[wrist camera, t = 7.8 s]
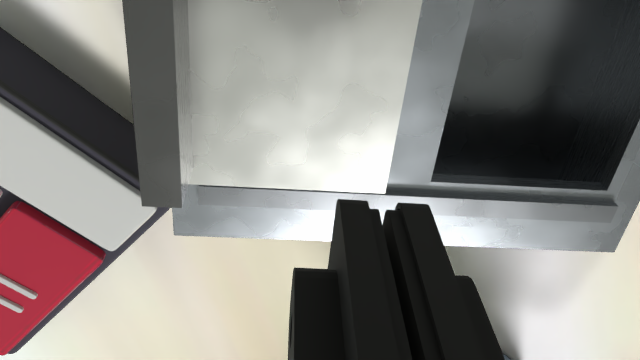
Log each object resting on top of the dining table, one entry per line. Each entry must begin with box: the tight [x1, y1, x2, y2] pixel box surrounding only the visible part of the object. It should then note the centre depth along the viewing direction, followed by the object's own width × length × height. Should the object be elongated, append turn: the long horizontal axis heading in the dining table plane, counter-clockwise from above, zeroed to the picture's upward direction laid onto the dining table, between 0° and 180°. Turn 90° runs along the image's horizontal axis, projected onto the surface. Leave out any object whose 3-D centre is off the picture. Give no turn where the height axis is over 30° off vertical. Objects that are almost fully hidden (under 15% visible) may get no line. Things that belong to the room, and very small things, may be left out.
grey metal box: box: [172, 0, 640, 252], centre depth 21 cm, size 18×14×7 cm
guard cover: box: [122, 0, 422, 208], centre depth 16 cm, size 8×8×3 cm
